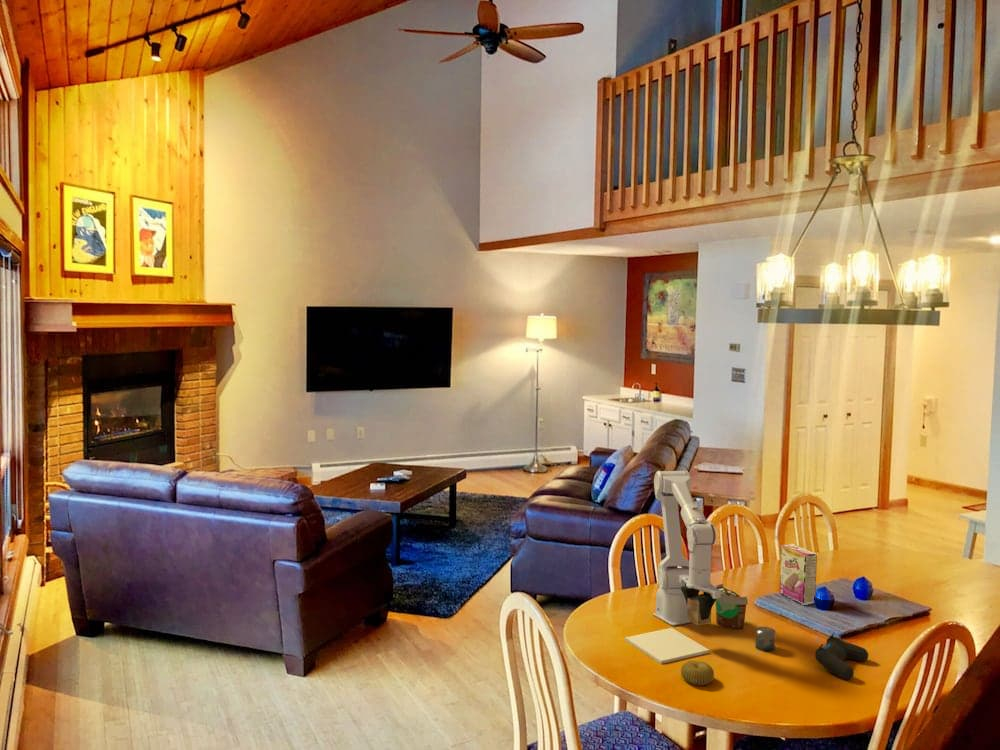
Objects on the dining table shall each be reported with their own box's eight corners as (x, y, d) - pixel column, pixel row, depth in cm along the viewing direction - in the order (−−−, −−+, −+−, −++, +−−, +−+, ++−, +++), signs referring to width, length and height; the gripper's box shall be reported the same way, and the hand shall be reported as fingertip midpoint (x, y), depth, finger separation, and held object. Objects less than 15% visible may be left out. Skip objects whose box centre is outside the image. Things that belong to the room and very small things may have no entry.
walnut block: (686, 619, 217) (687, 598, 217) (699, 616, 219) (700, 595, 219) (697, 625, 213) (698, 603, 213) (710, 622, 215) (711, 601, 215)
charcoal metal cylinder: (751, 646, 217) (752, 628, 216) (765, 642, 219) (765, 625, 218) (764, 653, 212) (765, 635, 212) (778, 649, 214) (779, 632, 214)
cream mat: (625, 640, 219) (625, 637, 219) (671, 630, 226) (671, 627, 226) (660, 664, 205) (660, 661, 205) (709, 652, 212) (709, 649, 212)
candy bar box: (778, 594, 256) (780, 544, 255) (790, 592, 258) (792, 543, 256) (803, 606, 246) (805, 555, 244) (815, 604, 247) (818, 553, 246)
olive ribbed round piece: (720, 665, 196) (702, 675, 191) (720, 680, 196) (701, 691, 191) (692, 654, 202) (674, 664, 196) (692, 670, 202) (674, 680, 197)
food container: (703, 618, 236) (704, 585, 235) (720, 615, 238) (721, 583, 237) (728, 634, 224) (730, 599, 223) (746, 631, 226) (748, 597, 226)
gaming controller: (860, 667, 210) (827, 639, 215) (873, 652, 208) (840, 624, 213) (840, 690, 197) (807, 660, 202) (854, 674, 195) (819, 645, 200)
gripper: (671, 561, 219) (669, 608, 221) (706, 577, 206) (705, 627, 208) (691, 557, 223) (689, 604, 224) (727, 573, 210) (725, 623, 211)
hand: (698, 615), depth 216 cm, fingers closed on walnut block, 4 cm apart
